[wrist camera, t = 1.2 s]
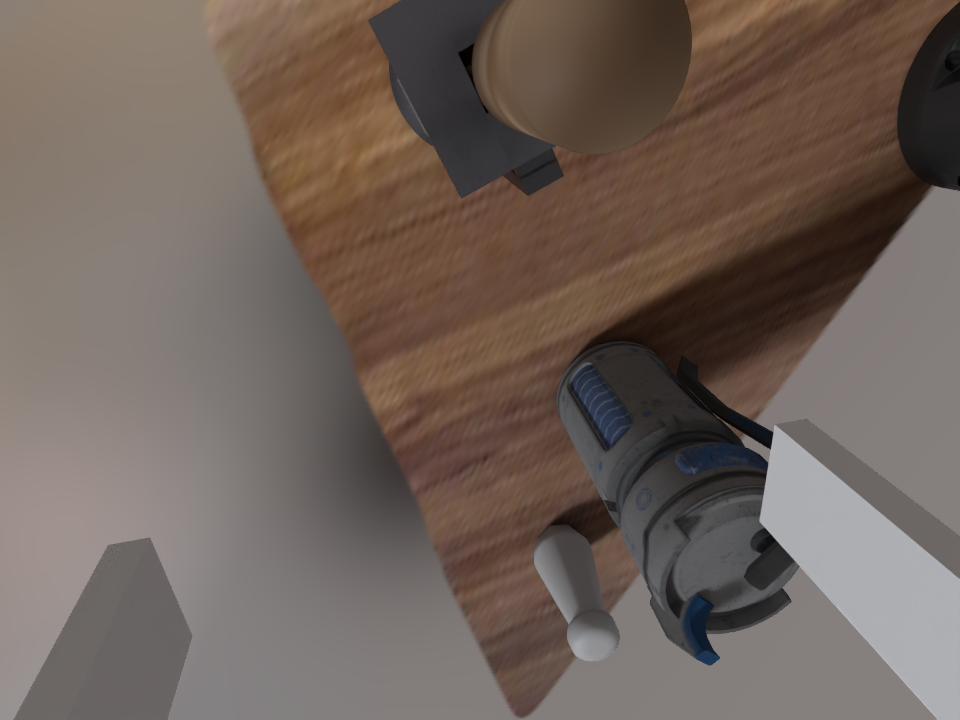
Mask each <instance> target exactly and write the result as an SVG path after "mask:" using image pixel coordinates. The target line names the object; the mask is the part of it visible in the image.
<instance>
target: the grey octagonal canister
mask: <svg viewBox="0 0 960 720" xmlns="http://www.w3.org/2000/svg"><path fill="white" fill-rule="evenodd" d="M502 1H503V0H401V1H399V2H398V3H396V4H394V5H393V6H391V7H389V8H388V9H386V10H384V11H383V12H381V13H379V14H378V15H376V16H374V17H373V18H371V19H369V20H368V21H369V24H370V25H371V27H372V29H373V31H374V33H375V35H376V37H377V39H378V41H379V43H380V45H381V46H382V48H383V50H384V52H385V54H386V56H387V58H388V60H389V71H390V81H391V86H392V91H393V94H394V97H395V100H396V103H397V105H398V107H399V109H400V111H401V113H402V115H403V116H404V118H405V120H406V121H407V123H408V124H409V125H410V126H411V128H412V129H413V130H414V131H415V132H416V133H417V134H418V135H419V136H420V137H421V138H422V139H423V140H425V141H426V142H427V143H429V144H430V145H432V146H434V148H435V150H436V152H437V154H438V155H439V157H440V159H441V161H442V163H443V165H444V167H445V169H446V171H447V173H448V175H449V177H450V178H451V180H452V182H453V184H454V186H455V188H456V190H457V192H458V194H459V196H460V197H461V198H463V197H465V196H467V195H468V194H470V193H472V192H474V191H476V190H477V189H479V188H481V187H483V186H485V185H486V184H488V183H490V182H492V181H493V180H495V179H497V178H499V177H501V176H502V175H503V176H504V177H505V178H506V179H507V180H509V181H510V182H511V183H512V184H514V185H515V186H516V187H517V188H519V189H520V190H521V191H522V192H524V193H525V194H526V195H527V196H529V195H530V194H532V193H534V192H536V191H538V190H539V189H541V188H543V187H545V186H547V185H548V184H550V183H552V182H554V181H556V180H557V179H559V178H561V177H563V176H564V175H563V173H562V170H561V168H560V166H559V163H558V161H557V159H556V156H555V154H554V152H553V149H552V147H554V146H556V145H554V144H552V143H549V142H546V141H544V140H541V139H538V138H536V137H533V136H530V135H528V134H525V133H522V132H520V131H517V130H514V129H512V128H510V127H507V126H506V125H504V124H502V123H501V122H499V121H498V120H497V119H496V118H494V117H493V116H492V114H491V113H490V112H489V111H488V110H487V109H486V107H485V106H484V104H483V103H482V101H481V99H480V97H479V95H478V92H477V90H476V87H475V83H474V79H473V72H472V56H473V49H474V44H475V40H476V37H477V34H478V32H479V30H480V28H481V26H482V24H483V22H484V20H485V19H486V17H487V16H488V15H489V13H490V12H491V11H492V10H493V9H494V8H495V7H496V6H497V5H498V4H499V3H500V2H502Z"/></svg>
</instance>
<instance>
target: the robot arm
mask: <svg viewBox="0 0 960 720" xmlns="http://www.w3.org/2000/svg"><path fill="white" fill-rule="evenodd" d="M897 126H898V138H899V143H900V147H901V151H902V153H903V156H904V158H905V160H906V162H907V163H908V165H909V167H910V168H911V169H912V171H913V172H914V173H915V174H916V175H917V176H919V177H920V178H921V179H923V180H924V181H926V182H928V183H929V184H932V185H934V186H938V187H942V188H947V189H953V190H958V191H960V3H959V4H958V5H957V6H956V7H955V8H954V9H952V10H951V11H950V12H949V13H948V14H947V15H946V16H945V17H944V18H943V19H942V20H941V22H940V23H939V24H938V25H937V26H936V27H935V29H934V30H933V31H932V32H931V34H930V35H929V36H928V38H927V39H926V41H925V42H924V44H923V45H922V47H921V48H920V50H919V52H918V54H917V55H916V57H915V59H914V61H913V63H912V65H911V67H910V70H909V72H908V75H907V77H906V80H905V83H904V86H903V89H902V93H901V97H900V102H899V108H898V122H897ZM759 522H760V523H761V524H762V525H763V526H764V527H765V528H766V529H767V530H768V532H769V533H770V534H771V535H772V536H773V537H774V538H775V539H776V540H777V542H778V543H779V544H780V545H781V546H782V547H783V548H784V549H785V550H786V552H787V553H788V554H789V555H790V556H791V557H792V558H793V559H794V560H795V562H796V563H797V564H798V565H799V566H800V567H801V568H802V569H803V570H804V572H806V574H807V575H808V576H809V577H810V578H811V579H812V580H813V582H814V583H815V584H816V585H817V586H818V587H819V588H820V589H821V590H822V591H823V593H824V594H825V595H826V596H827V597H828V598H829V599H830V600H831V602H832V603H833V604H834V605H835V606H836V607H837V608H838V609H839V610H840V611H841V613H842V614H843V615H844V616H845V617H846V618H847V619H848V620H849V622H850V623H851V624H852V625H853V626H854V627H855V628H856V629H857V630H858V632H859V633H860V634H861V635H862V636H863V637H864V638H865V639H866V640H867V642H868V643H869V644H870V645H871V646H872V647H873V648H874V649H875V650H876V651H877V653H878V654H879V655H880V656H881V657H882V658H883V659H884V661H885V662H886V663H887V664H888V665H889V666H890V667H891V668H892V669H893V670H894V672H895V673H896V674H897V675H898V676H899V677H900V678H901V679H902V680H903V682H904V683H905V684H906V685H907V686H908V687H909V688H910V689H911V690H912V692H913V693H914V694H915V695H916V696H917V697H918V698H919V699H920V700H921V702H922V703H923V704H924V705H925V706H926V707H927V708H928V709H929V711H930V712H931V713H932V714H933V715H934V716H935V717H936V718H937V719H938V720H960V536H959V535H958V534H957V533H955V532H954V531H952V530H951V529H950V528H949V527H947V526H946V525H945V524H944V523H942V522H941V521H940V520H938V519H937V518H936V517H934V516H933V515H932V514H930V513H929V512H928V511H927V510H925V509H924V508H923V507H921V506H920V505H919V504H917V503H916V502H915V501H913V500H912V499H911V498H910V497H908V496H907V495H906V494H904V493H903V492H902V491H900V490H899V489H898V488H896V487H895V486H894V485H892V484H891V483H890V482H888V481H887V480H886V479H885V478H883V477H882V476H881V475H879V474H878V473H877V472H875V471H874V470H873V469H872V468H870V467H869V466H868V465H866V464H865V463H863V462H862V461H861V460H860V459H858V458H857V457H856V456H855V455H853V454H852V453H851V452H849V451H848V450H847V449H845V448H844V447H843V446H841V445H840V444H839V443H838V442H836V441H835V440H834V439H832V438H831V437H830V436H828V435H827V434H826V433H824V432H823V431H822V430H821V429H819V428H818V427H817V426H815V425H814V424H813V423H811V422H810V421H809V420H807V419H803V420H797V421H792V422H787V423H781V424H775V427H774V433H773V440H772V446H771V452H770V458H769V464H768V471H767V477H766V483H765V489H764V496H763V502H762V508H761V514H760V520H759ZM191 638H192V634H191V632H190V629H189V627H188V625H187V622H186V620H185V618H184V615H183V613H182V611H181V608H180V606H179V604H178V601H177V599H176V597H175V595H174V592H173V590H172V587H171V585H170V583H169V581H168V578H167V576H166V574H165V571H164V569H163V567H162V564H161V562H160V560H159V558H158V555H157V553H156V550H155V548H154V546H153V543H152V541H151V539H150V538H145V539H139V540H134V541H128V542H123V543H117V544H112V545H108V546H107V548H106V550H105V552H104V554H103V555H102V557H101V559H100V561H99V563H98V565H97V567H96V569H95V570H94V572H93V574H92V576H91V578H90V580H89V581H88V583H87V585H86V587H85V589H84V590H83V593H82V594H81V596H80V598H79V600H78V602H77V604H76V605H75V607H74V609H73V611H72V613H71V614H70V616H69V618H68V620H67V622H66V624H65V626H64V628H63V629H62V631H61V633H60V635H59V637H58V639H57V641H56V642H55V644H54V646H53V648H52V650H51V652H50V654H49V655H48V657H47V659H46V661H45V663H44V664H43V666H42V668H41V670H40V672H39V674H38V676H37V677H36V679H35V681H34V683H33V685H32V687H31V689H30V690H29V692H28V694H27V696H26V698H25V700H24V701H23V703H22V705H21V707H20V709H19V711H18V712H17V714H16V716H15V718H14V720H167V718H168V715H169V712H170V708H171V705H172V702H173V698H174V695H175V692H176V689H177V685H178V682H179V679H180V675H181V672H182V669H183V665H184V662H185V659H186V655H187V652H188V649H189V645H190V642H191Z"/></svg>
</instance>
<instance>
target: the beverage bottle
mask: <svg viewBox="0 0 960 720" xmlns="http://www.w3.org/2000/svg"><path fill="white" fill-rule="evenodd" d="M677 376H678V377H679V378H680V379H681V380H682V381H683V382H684V383H685V385H686V386H687V387H688V388H689V389H690V390H691V391H692V392H693V393H694V394H695V395H696V396H697V397H698V398H699V399H700V400H701V401H702V402H703V403H704V404H705V405H706V406H707V407H708V408H709V409H710V410H711V411H710V410H709V409H708V408H707V407H706V406H705V405H704V404H703V403H702V402H701V401H700V400H699V399H698V398H697V397H696V396H695V395H694V394H693V393H692V392H691V391H690V390H689V389H688V388H687V387H686V386H685V385H684V384H683V383H682V382H681V381H680V380H679V379H678V378H677V377H676V376H675V375H674V374H673V373H672V372H671V371H670V369H669V368H668V367H667V366H666V364H665V363H664V362H663V361H662V360H661V359H660V358H659V357H658V356H657V355H656V354H655V353H654V352H653V351H652V350H650V349H648V348H647V347H645V346H643V345H640V344H637V343H634V342H627V341H616V342H609V343H604V344H600V345H597V346H595V347H593V348H590V349H588V350H587V351H585V352H584V353H582V354H581V355H579V356H578V357H577V358H576V359H575V360H574V361H573V363H572V364H571V365H570V366H569V367H568V369H567V370H566V372H565V373H564V375H563V378H562V380H561V382H560V384H559V388H558V392H557V410H558V414H559V416H560V419H561V421H562V423H563V425H564V427H565V429H566V431H567V433H568V434H569V436H570V438H571V440H572V442H573V444H574V446H575V448H576V450H577V452H578V454H579V456H580V457H581V459H582V461H583V463H584V465H585V467H586V469H587V471H588V473H589V475H590V477H591V479H592V480H593V482H594V484H595V486H596V488H597V490H598V492H599V494H600V496H601V498H602V500H603V502H604V504H605V505H606V507H607V509H608V511H609V513H610V515H611V517H612V519H613V521H614V522H615V523H616V524H617V526H618V527H619V528H620V529H621V531H622V536H623V538H624V541H625V543H626V545H627V547H628V549H629V551H630V553H631V555H632V557H633V559H634V561H635V563H636V564H637V566H638V568H639V570H640V572H641V574H642V576H643V578H644V580H645V582H646V584H647V587H648V589H649V591H650V592H651V595H652V597H651V600H650V605H651V607H652V609H653V611H654V613H655V615H656V617H657V619H658V621H659V623H660V625H661V627H662V629H663V631H664V632H665V635H666V637H667V638H668V639H669V640H670V641H671V642H673V643H674V644H676V645H677V646H678V647H680V648H681V649H683V650H684V651H685V652H687V653H688V654H690V655H691V656H693V657H694V658H696V659H697V660H699V661H701V662H703V663H705V664H707V665H712V664H713V663H715V662H716V661H717V660H719V659H720V657H719V656H718V655H717V654H716V652H715V651H714V650H713V648H712V646H711V644H710V642H709V640H708V638H707V634H722V633H729V632H735V631H739V630H742V629H745V628H749V627H751V626H754V625H756V624H758V623H761V622H763V621H765V620H767V619H768V618H770V617H772V616H773V615H775V614H777V613H778V612H779V611H780V610H782V609H783V608H784V607H786V606H787V605H788V604H789V603H791V599H790V598H789V596H788V594H787V593H786V592H785V591H784V589H783V588H782V587H783V586H784V585H785V584H786V583H787V582H788V581H789V580H790V579H791V578H792V576H793V575H794V574H795V572H796V571H797V569H798V568H799V567H800V566H799V565H798V564H797V563H796V562H795V560H794V559H793V558H792V557H791V556H790V555H789V554H788V553H787V552H786V550H785V549H784V548H783V547H782V546H781V545H780V544H779V543H778V542H777V540H776V539H775V538H774V537H773V536H772V535H771V534H770V533H769V532H768V530H767V529H766V528H765V527H764V526H763V525H762V524H761V523H760V522H759V520H760V514H761V508H762V502H763V496H764V489H765V483H766V477H767V471H768V464H769V463H768V462H767V461H766V460H765V459H764V458H763V457H762V456H761V455H759V454H757V453H756V452H754V451H752V450H750V449H749V448H745V446H744V444H743V443H742V441H741V439H740V438H739V437H738V436H737V435H736V434H735V433H734V432H733V431H732V430H731V429H730V428H729V427H728V426H727V425H726V424H724V423H723V422H722V421H721V420H720V419H718V418H717V417H716V416H715V415H717V416H718V417H719V418H721V419H722V420H723V421H725V422H726V423H728V424H730V425H731V426H733V427H735V428H736V429H738V430H739V431H741V432H743V433H744V434H746V435H748V436H749V437H751V438H753V439H754V440H756V441H757V442H759V443H761V444H762V445H764V446H766V447H767V448H769V449H770V450H771V446H772V440H773V433H774V432H772V431H770V430H768V429H766V428H765V427H763V426H761V425H759V424H757V423H756V422H754V421H752V420H750V419H748V418H747V417H745V416H743V415H741V414H739V413H737V412H736V411H734V410H732V409H730V408H728V407H727V406H726V405H725V404H724V403H722V402H721V401H720V400H719V399H718V398H717V397H716V396H715V395H714V394H712V393H711V392H710V391H709V390H708V389H707V388H706V387H705V386H703V385H702V384H701V383H700V382H699V381H698V380H697V377H698V365H694V364H693V363H691V362H690V361H689V360H688V359H686V358H685V357H684V356H681V360H680V363H679V367H678V371H677ZM712 412H713V413H714V414H715V415H714V414H713V413H712Z"/></svg>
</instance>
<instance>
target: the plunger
mask: <svg viewBox="0 0 960 720" xmlns="http://www.w3.org/2000/svg"><path fill="white" fill-rule="evenodd" d="M691 49H692V34H691V24H690V19H689V14H688V10H687V7H686V4H685V1H684V0H503V1H502V2H500V3H499V4H498V5H497V6H496V7H495V8H494V9H493V10H492V11H491V12H490V13H489V15H488V16H487V17H486V19H485V20H484V22H483V24H482V26H481V28H480V30H479V32H478V34H477V37H476V40H475V44H474V49H473V56H472V72H473V79H474V83H475V87H476V90H477V92H478V95H479V97H480V99H481V101H482V103H483V104H484V106H485V107H486V109H487V110H488V111H489V112H490V113H491V114H492V116H493V117H494V118H496V119H497V120H498V121H499V122H501V123H502V124H504V125H506V126H507V127H510V128H512V129H514V130H517V131H520V132H522V133H525V134H528V135H530V136H533V137H536V138H538V139H541V140H544V141H546V142H549V143H552V144H554V145H557V146H560V147H562V148H565V149H568V150H571V151H574V152H578V153H584V154H605V153H610V152H615V151H618V150H621V149H624V148H626V147H628V146H631V145H633V144H635V143H636V142H638V141H639V140H641V139H643V138H644V137H646V136H647V135H648V134H649V133H650V132H652V131H653V130H654V129H655V128H656V127H657V126H658V125H659V124H660V123H661V122H662V121H663V119H664V118H665V117H666V116H667V114H668V113H669V112H670V110H671V109H672V107H673V105H674V104H675V102H676V100H677V99H678V96H679V94H680V92H681V90H682V88H683V85H684V82H685V79H686V76H687V73H688V68H689V64H690V57H691Z"/></svg>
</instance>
